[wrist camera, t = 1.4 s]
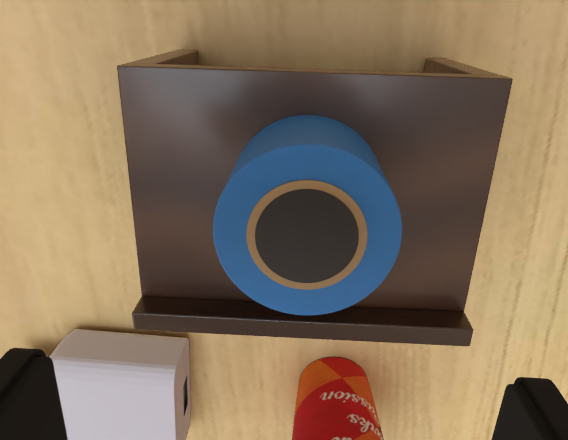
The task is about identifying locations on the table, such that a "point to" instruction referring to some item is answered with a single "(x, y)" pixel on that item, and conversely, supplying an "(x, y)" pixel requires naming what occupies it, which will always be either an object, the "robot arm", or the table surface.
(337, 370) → the paper cup
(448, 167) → the desk shelf
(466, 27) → the table surface
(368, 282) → the tape roll
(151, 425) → the charger
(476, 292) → the table surface
